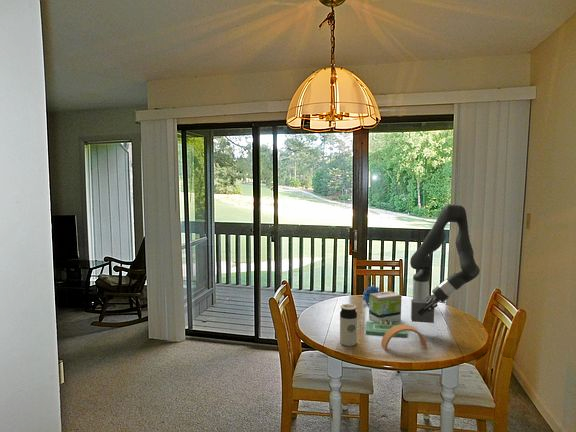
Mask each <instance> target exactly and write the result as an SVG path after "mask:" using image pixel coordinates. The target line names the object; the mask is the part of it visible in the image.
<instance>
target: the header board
mask: <svg viewBox="0 0 576 432" xmlns="http://www.w3.org/2000/svg"><path fill="white" fill-rule="evenodd" d="M365 324H366V325H365V335H375V336H376V335H377V336H384V334H385V333H386V332H387V331H388V330H389V329H390V328H392V327H394V326H396V325H401V324H402V323H393V322H385V323H382V321H380V322H374V321H366V322H365ZM393 337H403V338H408V331H402V332H399V333H397V334H395V335H394V336H393Z"/></svg>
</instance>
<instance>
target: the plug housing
mask: <svg viewBox="0 0 576 432" xmlns="http://www.w3.org/2000/svg"><path fill="white" fill-rule="evenodd" d="M410 301H411V304H410V309H411V310H410V320H411V322H412V323H428V324H435V308H434V309H433V310H431V311H430V312H427V311H426V312H425V313H424V314H423V315H422V316H420V315H419V314H418V312H419V311H420V310H421V309H422V308H424V306H426V303H427V302H428V301H426V300H414V299H413V298H412V299H411V300H410ZM429 304H430V303H429ZM428 308H429V307H428Z"/></svg>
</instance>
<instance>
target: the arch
mask: <svg viewBox="0 0 576 432" xmlns="http://www.w3.org/2000/svg"><path fill="white" fill-rule="evenodd" d="M400 324H401V325H396V326H394V327H392V328H390V329H389V330H388V331H387V332H386V333H385V334H384V335H382V339H381V341H380V344H381V345H380V346H381V347H382V348H383V350H384V351H388V346H389V343H390V341H391V339H392V338H393V337H395V336H394V335H395V334H397V333H399V332H402V331H406V332H413V333H415V334H417V336H418V338H419V343H420V344H419V345H420V346H422V347H423V348H424V349H425V350H428V343H427V340H426V339H425V337H424V336H423V334H421V332H420V331H419V330H418V329H416V328H415V327H413V326H412V325H409V324H405V323H400Z"/></svg>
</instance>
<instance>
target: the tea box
mask: <svg viewBox="0 0 576 432" xmlns="http://www.w3.org/2000/svg"><path fill="white" fill-rule="evenodd" d="M379 292H380V293H372V294H370V297H369V303H368V319H369V320H370V321H371V322H380V321H382V323H385V322H387V323H390V322H392V323H393V322H400V321H401V318H402V295H401V294H399V293H396V292H394V291H392V290H388V291H379Z"/></svg>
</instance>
